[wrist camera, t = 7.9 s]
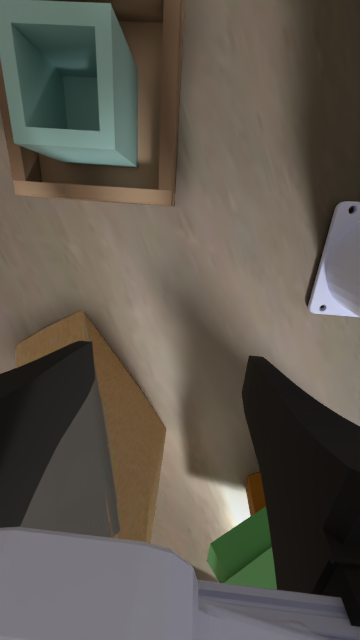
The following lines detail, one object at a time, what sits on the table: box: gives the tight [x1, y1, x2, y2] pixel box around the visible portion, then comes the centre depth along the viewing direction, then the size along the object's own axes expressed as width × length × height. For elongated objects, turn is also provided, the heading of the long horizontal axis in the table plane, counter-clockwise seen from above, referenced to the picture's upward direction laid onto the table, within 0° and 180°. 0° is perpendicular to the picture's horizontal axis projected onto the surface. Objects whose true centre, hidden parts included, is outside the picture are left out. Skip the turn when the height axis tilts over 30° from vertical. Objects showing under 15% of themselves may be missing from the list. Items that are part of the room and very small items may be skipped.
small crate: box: [0, 0, 138, 168], centre depth 14 cm, size 5×5×5 cm
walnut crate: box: [0, 0, 184, 206], centre depth 15 cm, size 10×10×2 cm
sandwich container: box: [15, 311, 166, 543], centre depth 18 cm, size 9×15×15 cm, turn 28°
